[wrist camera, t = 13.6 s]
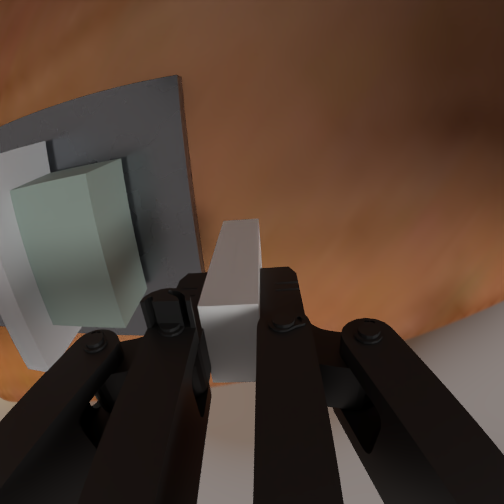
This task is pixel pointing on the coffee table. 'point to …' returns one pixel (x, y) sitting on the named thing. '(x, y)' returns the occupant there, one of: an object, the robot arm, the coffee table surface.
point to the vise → (130, 170)
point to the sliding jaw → (64, 252)
